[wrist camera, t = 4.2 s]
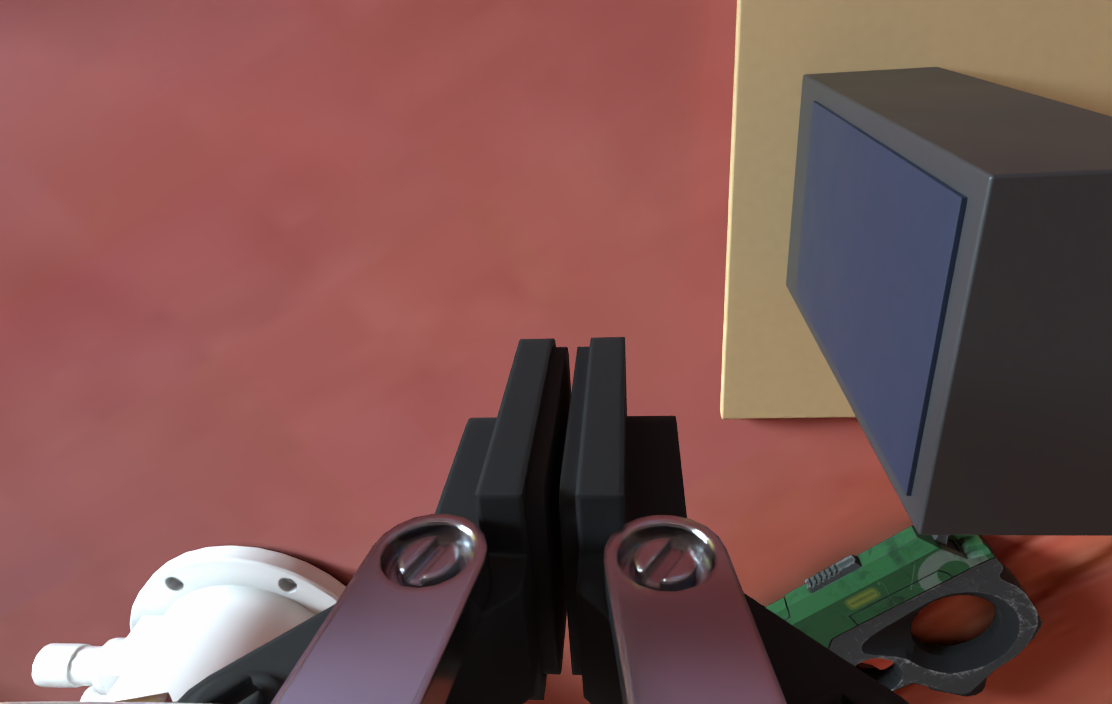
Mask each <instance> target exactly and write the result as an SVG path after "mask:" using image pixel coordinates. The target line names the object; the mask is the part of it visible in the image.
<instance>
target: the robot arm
mask: <svg viewBox="0 0 1112 704" xmlns="http://www.w3.org/2000/svg"><path fill="white" fill-rule="evenodd" d="M566 616H568V628H569V640H570V653H571V665H572V674H573V675H582V680H583V694H584V698H585V699H586V700H587V701H589V702H590V703H591V704H909V703H908V702H906V701H905V700H904V699H903V698H902V697H900V696H899V695H897V694H896V693H894V692H893V691H891V690H890V689H888V688H887V687H885V686H884V685H882V684H881V683H879V682H878V681H876V680H875V679H873V678H872V677H870V676H869V675H867V674H865V673H864V672H862V671H861V670H859V669H858V668H856V667H855V666H853V665H852V664H850V663H849V662H847V661H846V660H844V659H843V658H841V657H840V656H838V655H837V654H835V653H834V652H832V651H831V650H829V649H828V648H826V647H825V646H823V645H822V644H820V643H819V642H817V641H816V640H814V639H812V638H811V637H809V636H808V635H806V634H805V633H803V632H802V631H800V630H799V629H797V628H796V627H794V626H793V625H791V624H790V623H788V622H787V621H785V620H784V619H782V618H781V617H779V616H778V615H776V614H775V613H773V612H772V611H770V610H769V609H767V608H766V607H764V606H763V605H761V604H759V603H758V602H756V601H755V600H753V599H752V598H750V597H749V596H747V595H746V594H744V593H743V590H742V587H741V585H740V582H739V580H738V577H737V575H736V572H735V570H734V567H733V564H732V562H731V559H730V557H729V554H728V552H727V549H726V548H725V546H724V544H723V543H722V541H721V540H720V538H719V537H718V536H717V535H716V534H715V533H713V532H712V531H711V530H710V529H709V528H707V527H706V526H704V525H702V524H700V523H698V522H695V521H693V520H691V519H688V518H687V514H686V505H685V496H684V487H683V478H682V468H681V459H680V450H679V441H678V432H677V422H676V417H675V416H627V399H626V360H625V337H606V338H591V340H590V347H578V348H577V355H576V363H575V370H574V378H573V386H572V393H571V383H570V368H569V354H568V348H567V347H556V344H555V340H554V339H520V341H519V344H518V347H517V351H516V354H515V357H514V361H513V364H512V368H511V371H510V375H509V378H508V382H507V385H506V389H505V392H504V395H503V399H502V402H501V406H500V409H499V413H498V416H497V418H470V419H469V420H468V422H467V424H466V427H465V430H464V433H463V435H462V438H461V441H460V444H459V447H458V450H457V452H456V455H455V458H454V461H453V464H452V467H451V469H450V472H449V475H448V478H447V481H446V484H445V486H444V489H443V492H442V495H441V498H440V501H439V504H438V506H437V509H436V512H435V514H430V515H425V516H420V517H415V518H412V519H410V520H407V521H405V522H402V523H400V524H398V525H396V526H395V527H393V528H392V529H390V530H389V531H387V532H386V533H384V534H383V535H382V536H381V538H380V539H379V540H378V541H377V542H376V543H375V544H374V545H373V547H372V548H371V550H370V551H369V553H368V554H367V556H366V558H365V559H364V561H363V562H362V564H361V565H360V567H359V568H358V570H357V571H356V573H355V574H354V576H353V577H352V579H351V581H350V582H349V584H348V585H347V587H346V586H344V585H343V584H342V583H340V582H339V581H338V580H336V579H335V578H333V577H332V576H331V575H329V574H328V573H326V572H324V571H322V570H320V569H318V568H316V567H315V566H313V565H311V564H309V563H307V562H305V561H302V560H299V559H297V558H294V557H291V556H289V555H286V554H283V553H279V552H275V551H270V550H266V549H261V548H257V547H245V546H232V545H230V546H217V547H206V548H202V549H198V550H194V551H191V552H187V553H184V554H182V555H180V556H178V557H176V558H174V559H172V560H170V561H168V562H167V563H166V564H165V565H163V566H162V567H161V568H160V569H159V570H157V571H156V572H155V573H154V574H153V575H152V577H151V578H150V579H149V581H148V582H147V583H146V585H145V586H144V587H143V588H142V590H141V591H140V592H139V594H138V596H137V598H136V600H135V602H134V605H133V607H132V612H131V619H130V628H131V632H130V634H129V635H128V636H127V638H114V639H111V640H109V641H108V642H107V643H105V644H104V645H103V646H92V645H89V644H69V643H51V644H49V645H47V646H45V647H43V649H42V650H41V651H40V652H39V653H38V654H37V656H36V658H35V661H34V663H33V666H32V678H33V681H34V683H35V684H36V685H38V686H40V687H62V688H76V687H80V686H91V687H89V688H88V689H87V690H86V691H85V692H84V694H83V696H82V698H81V701H39V702H0V704H523V703H525V702H526V701H527V700H544V695H545V686H546V677H547V674H561V669H562V659H563V648H564V638H565V627H566Z"/></svg>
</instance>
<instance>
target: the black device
mask: <svg viewBox="0 0 1112 704" xmlns="http://www.w3.org/2000/svg"><path fill="white" fill-rule="evenodd" d="M786 286H787V288H788V290H789V292H790V294H791V296H792V298H793V299H794V301H795V303H796V305H797V307H798V309H799V311H800V313H801V314H802V316H803V318H804V320H805V322H806V324H807V326H808V328H809V329H810V331H811V333H812V335H813V337H814V339H815V341H816V343H817V344H818V346H819V348H820V350H821V352H822V354H823V356H824V358H825V359H826V361H827V363H828V365H829V367H830V369H831V371H832V373H833V374H834V376H835V378H836V380H837V382H838V384H839V386H840V388H841V389H842V391H843V393H844V395H845V397H846V399H847V401H848V403H849V404H850V406H851V408H852V410H853V412H854V414H855V416H856V418H857V419H858V421H859V423H860V425H861V427H862V429H863V431H864V433H865V435H866V436H867V438H868V440H869V442H870V444H871V446H872V448H873V450H874V451H875V453H876V455H877V457H878V459H879V461H880V463H881V465H882V466H883V468H884V470H885V472H886V474H887V476H888V478H889V480H890V481H891V483H892V485H893V487H894V489H895V491H896V493H897V495H898V496H899V498H900V500H901V502H902V504H903V506H904V508H905V510H906V511H907V513H908V515H909V517H910V519H911V521H912V523H913V525H914V526H915V528H916V530H917V532H918V534H920V535H1112V116H1108V115H1105V114H1101V113H1098V112H1094V111H1091V110H1087V109H1084V108H1080V107H1077V106H1073V105H1070V104H1066V103H1063V102H1059V101H1056V100H1052V99H1049V98H1045V97H1042V96H1038V95H1034V94H1031V93H1027V92H1024V91H1020V90H1017V89H1013V88H1010V87H1006V86H1003V85H999V84H996V83H992V82H989V81H985V80H982V79H978V78H975V77H971V76H968V75H964V74H961V73H957V72H954V71H950V70H947V69H943V68H940V67H923V68H906V69H889V70H871V71H854V72H837V73H820V74H805V75H803V81H802V93H801V105H800V118H799V130H798V142H797V154H796V167H795V179H794V191H793V203H792V216H791V228H790V240H789V253H788V265H787V277H786Z"/></svg>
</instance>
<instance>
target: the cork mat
mask: <svg viewBox="0 0 1112 704" xmlns="http://www.w3.org/2000/svg"><path fill="white" fill-rule="evenodd" d="M923 67H940V68H943V69H947V70H950V71H954V72H957V73H961V74H964V75H968V76H971V77H975V78H978V79H982V80H985V81H989V82H992V83H996V84H999V85H1003V86H1006V87H1010V88H1013V89H1017V90H1020V91H1024V92H1027V93H1031V94H1034V95H1038V96H1042V97H1045V98H1049V99H1052V100H1056V101H1059V102H1063V103H1066V104H1070V105H1073V106H1077V107H1080V108H1084V109H1087V110H1091V111H1094V112H1098V113H1101V114H1105V115H1108V116H1112V0H737V18H736V42H735V66H734V90H733V113H732V137H731V161H730V185H729V209H728V233H727V257H726V281H725V305H724V329H723V353H722V377H721V401H720V413H721V417H722V419H754V418H834V417H856V416H855V414H854V412H853V410H852V408H851V406H850V404H849V403H848V401H847V399H846V397H845V395H844V393H843V391H842V389H841V388H840V386H839V384H838V382H837V380H836V378H835V376H834V374H833V373H832V371H831V369H830V367H829V365H828V363H827V361H826V359H825V358H824V356H823V354H822V352H821V350H820V348H819V346H818V344H817V343H816V341H815V339H814V337H813V335H812V333H811V331H810V329H809V328H808V326H807V324H806V322H805V320H804V318H803V316H802V314H801V313H800V311H799V309H798V307H797V305H796V303H795V301H794V299H793V298H792V296H791V294H790V292H789V290H788V288H787V286H786V277H787V265H788V253H789V240H790V228H791V216H792V203H793V191H794V179H795V167H796V154H797V142H798V130H799V118H800V105H801V93H802V81H803V75H805V74H820V73H837V72H854V71H871V70H889V69H906V68H923Z"/></svg>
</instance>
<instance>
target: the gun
mask: <svg viewBox="0 0 1112 704" xmlns="http://www.w3.org/2000/svg"><path fill="white" fill-rule="evenodd" d="M805 583H806V584H804V585H802V586H800V587H799V588H797V589H795V590H793V591H791V592H790V593H788V594H786V595H784V596H785V598H782V599H780V600H778V601H776V602H774V603H773V604H771V605H769V606H767V607H766V608H767V609H769V610H770V611H772V612H773V613H775V614H776V615H778V616H779V617H781V618H782V619H784V620H785V621H787V622H788V623H790V624H791V625H793V626H794V627H796V628H797V629H799V630H800V631H802V632H803V633H805V634H806V635H808V636H809V637H811V638H812V639H814V640H816V641H817V642H819V643H820V644H822V645H823V646H825V647H826V648H828V649H829V650H831V651H832V652H834V653H835V654H837V655H838V656H840V657H841V658H843V659H844V660H846V661H847V662H849V663H850V664H852V665H853V666H856V665H857V664H859V663H860V662H861V663H865V664H870V665H873V666H875V667H874V668H871V669H859V670H861V671H862V672H864V673H865V674H867V675H869V676H870V677H872V678H873V679H875V680H876V681H878V682H879V683H881V684H882V685H884V686H885V687H887V688H888V689H890V690H891V691H896V690H898V689H900V688H903V687H905V686H908V685H910V684H912V683H916V684H920V685H924V686H928V687H929V688H930V689H931V690H935V691H941V692H946V693H951V694H956V695H961V696H972V695H976V694H978V693H980V692H982V691H983V689H984V687H985V683H986V678H987V677H988V676H989V675H990V674H991V673H992V672H993V671H994V670H995V669H997V668H998V667H1000V666H1001V665H1003V664H1005V663H1006V662H1008V661H1009V660H1011V659H1013V658H1014V657H1015V656H1017V655H1018V654H1019V653H1020V652H1021V651H1022V650H1023V649H1024V648H1025V647H1026V646H1027V644H1028V643H1029V642H1030V641H1031V640H1033V639H1034V637H1035V635H1036V634H1037V632H1038V631H1039V629H1040V628H1041V626H1042V620H1041V619H1040V617H1039V616H1038V614H1037V610H1036V609H1035V607H1034V605H1033V604H1032V602H1031V601H1030V599H1029V598H1028V596H1027V595H1026V593H1025V592H1024V590H1023V589H1022V587H1021V586H1020V584H1019V583H1018V581H1017V579H1016V578H1015V577H1014V575H1013V574H1012V572H1011V571H1010V570H1009V569H1008V568H1007V567H1006V566H1005V565H1004V564H1002V563H1001V562H1000V561H999V559H998V558H997V556H996V555H995V553H994V552H993V550H992V549H991V547H990V546H989V544H988V543H987V542H986V540H985V539H984V538H983V537H982V536H981V535H920V534H918V532H917V530H916V528H915V526H910V527H909V528H907V529H905V530H903V531H901V532H899V533H898V534H896V535H894V536H892V537H890V538H888V539H887V540H885V541H883V542H881V543H879V544H877V545H876V546H874V547H872V548H870V549H868V550H866V551H865V552H863V553H861V554H859V555H857V556H854V555H850V556H848V557H846V558H844V559H843V560H841V561H839V562H837V563H836V564H835V565H832V566H831V567H828V568H826V570H822V571H821V572H820V573H817V574H816V575H815V576H812V577H811V578H808V579H806V580H805ZM953 595H973V596H978V597H981V598H984V599H986V600H988V601H990V602H992V603H993V604H994V605H995V607H996V613H995V617H994V620H993V622H992V623H991V625H990V626H989V627H988V628H987V629H986V631H984V632H983V633H982V634H981V635H979V636H977V637H976V638H974V639H972V640H969V641H967V642H964V643H960V644H956V645H949V646H938V645H933V644H929V643H925V642H922V641H921V640H919V639H917V638H916V637H914V636H913V635H912V634H911V631H910V628H911V624H912V621H913V619H914V617H915V616H916V615H917V614H918V612H919V611H920V610H922V609H923V608H924V607H925V606H927V605H928V604H930V603H932V602H933V601H936V600H938V599H941V598H944V597H948V596H953Z"/></svg>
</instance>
